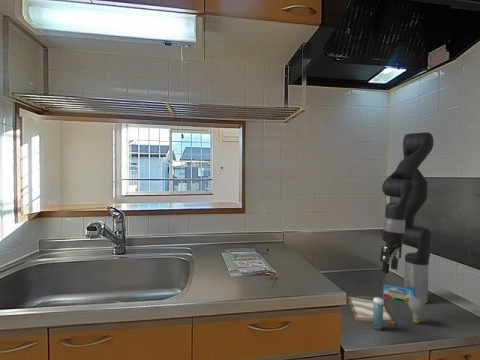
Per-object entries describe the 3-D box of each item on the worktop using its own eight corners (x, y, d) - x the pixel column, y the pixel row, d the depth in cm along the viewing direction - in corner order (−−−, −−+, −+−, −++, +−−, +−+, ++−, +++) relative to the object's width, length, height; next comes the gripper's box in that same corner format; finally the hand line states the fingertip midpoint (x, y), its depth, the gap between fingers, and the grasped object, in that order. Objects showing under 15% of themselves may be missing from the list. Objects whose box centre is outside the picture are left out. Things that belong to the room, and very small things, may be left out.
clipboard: (347, 298, 131) (347, 294, 131) (380, 301, 128) (380, 298, 128) (355, 320, 112) (355, 316, 112) (395, 325, 109) (395, 320, 109)
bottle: (375, 325, 109) (376, 296, 108) (384, 329, 106) (385, 299, 105) (371, 327, 107) (371, 298, 106) (380, 332, 104) (380, 302, 103)
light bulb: (404, 320, 112) (405, 295, 111) (414, 318, 114) (415, 293, 113) (417, 328, 107) (418, 301, 106) (428, 325, 108) (428, 299, 108)
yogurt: (383, 298, 131) (383, 285, 131) (383, 297, 132) (383, 284, 132) (413, 305, 125) (414, 291, 125) (413, 303, 127) (414, 289, 126)
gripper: (396, 233, 105) (392, 277, 105) (410, 230, 114) (406, 270, 115) (376, 229, 110) (372, 271, 111) (390, 226, 120) (387, 265, 120)
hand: (389, 270), depth 113 cm, fingers open, 8 cm apart
